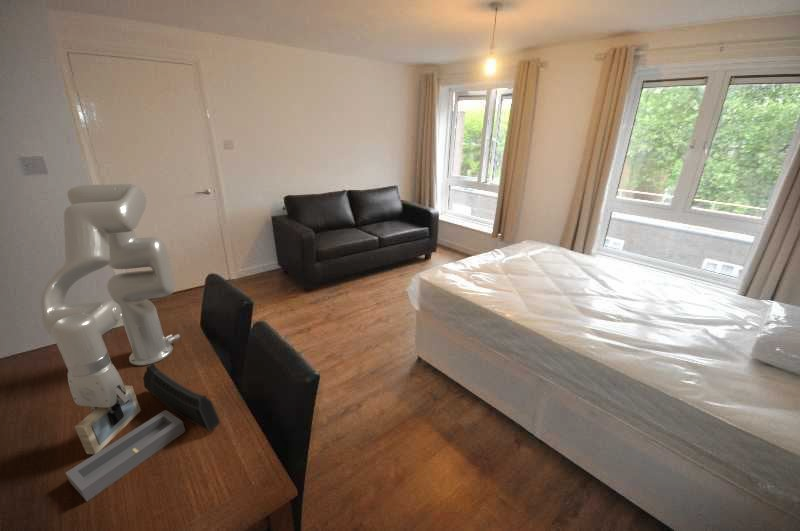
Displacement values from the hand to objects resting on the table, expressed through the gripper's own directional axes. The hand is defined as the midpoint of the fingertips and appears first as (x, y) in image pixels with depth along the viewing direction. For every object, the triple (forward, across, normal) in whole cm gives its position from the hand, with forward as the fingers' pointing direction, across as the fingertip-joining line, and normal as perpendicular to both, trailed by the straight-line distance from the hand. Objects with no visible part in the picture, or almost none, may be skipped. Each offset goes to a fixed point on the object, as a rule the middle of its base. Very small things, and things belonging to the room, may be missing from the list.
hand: (112, 420), depth 87 cm
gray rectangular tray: (+4, +10, -6) cm, 13 cm away
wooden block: (+4, 0, 0) cm, 4 cm away
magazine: (+4, +12, +9) cm, 15 cm away
